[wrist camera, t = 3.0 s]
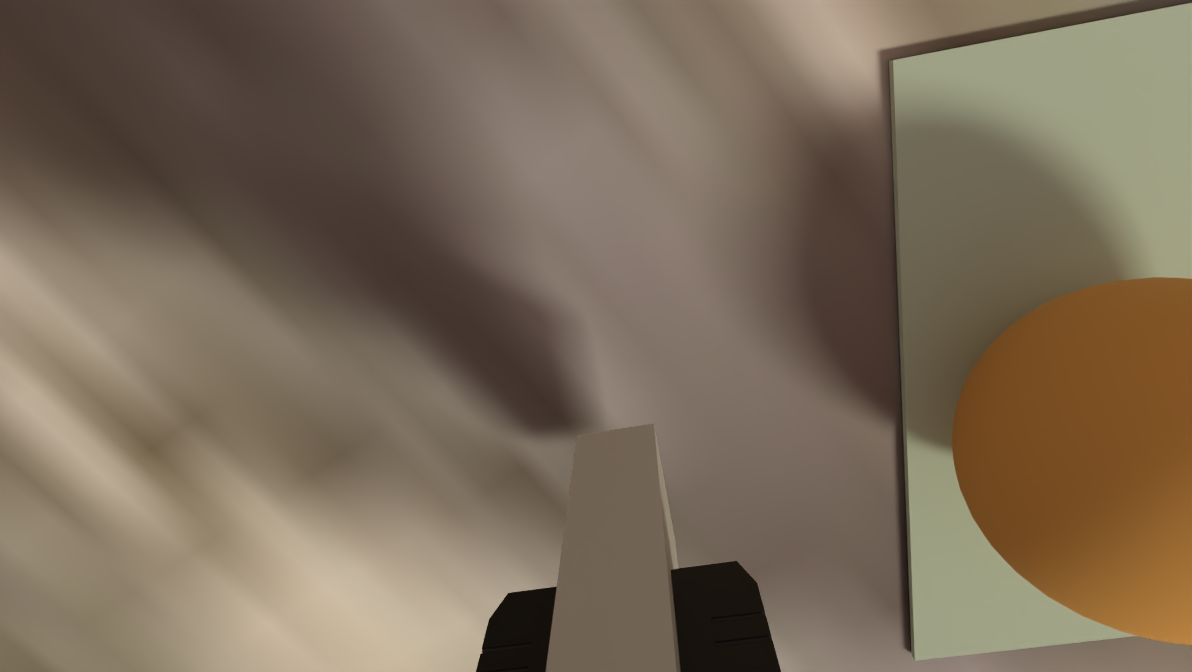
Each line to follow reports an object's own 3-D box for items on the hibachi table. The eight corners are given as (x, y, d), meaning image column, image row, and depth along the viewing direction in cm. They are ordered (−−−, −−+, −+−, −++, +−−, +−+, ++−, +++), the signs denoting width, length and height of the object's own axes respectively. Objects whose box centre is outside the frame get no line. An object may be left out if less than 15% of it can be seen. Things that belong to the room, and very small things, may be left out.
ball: (906, 519, 16) (1066, 760, 10) (897, 271, 14) (1088, 396, 8) (1183, 483, 15) (1513, 716, 10) (1214, 218, 13) (1656, 315, 8)
